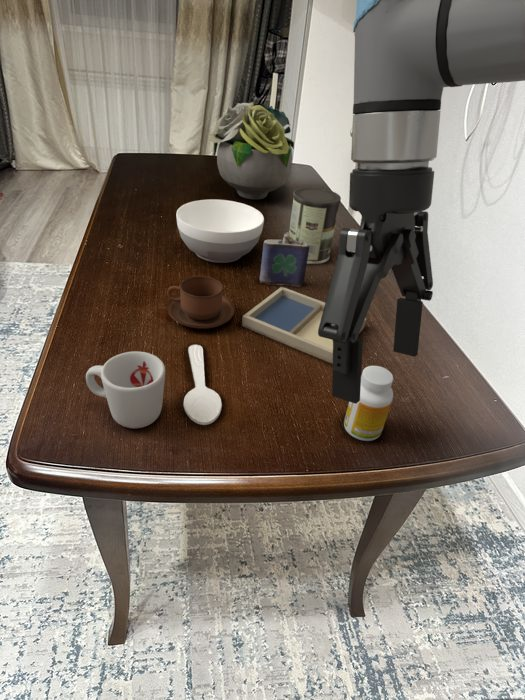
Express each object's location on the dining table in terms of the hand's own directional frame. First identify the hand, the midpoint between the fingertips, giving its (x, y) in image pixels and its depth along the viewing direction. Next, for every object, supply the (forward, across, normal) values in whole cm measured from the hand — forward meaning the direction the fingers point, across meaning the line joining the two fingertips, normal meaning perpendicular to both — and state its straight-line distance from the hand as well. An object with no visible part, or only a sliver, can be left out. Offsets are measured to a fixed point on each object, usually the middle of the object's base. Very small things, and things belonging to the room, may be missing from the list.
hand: (378, 374), depth 53 cm
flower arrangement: (-9, -69, -77) cm, 103 cm away
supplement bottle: (+14, -9, -6) cm, 18 cm away
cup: (+10, +12, -31) cm, 35 cm away
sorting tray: (+8, -24, -27) cm, 37 cm away
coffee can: (+1, -49, -44) cm, 66 cm away
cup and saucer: (+5, -12, -41) cm, 43 cm away
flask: (+4, -34, -39) cm, 52 cm away
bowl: (-1, -34, -57) cm, 66 cm away
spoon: (+9, 0, -29) cm, 30 cm away
